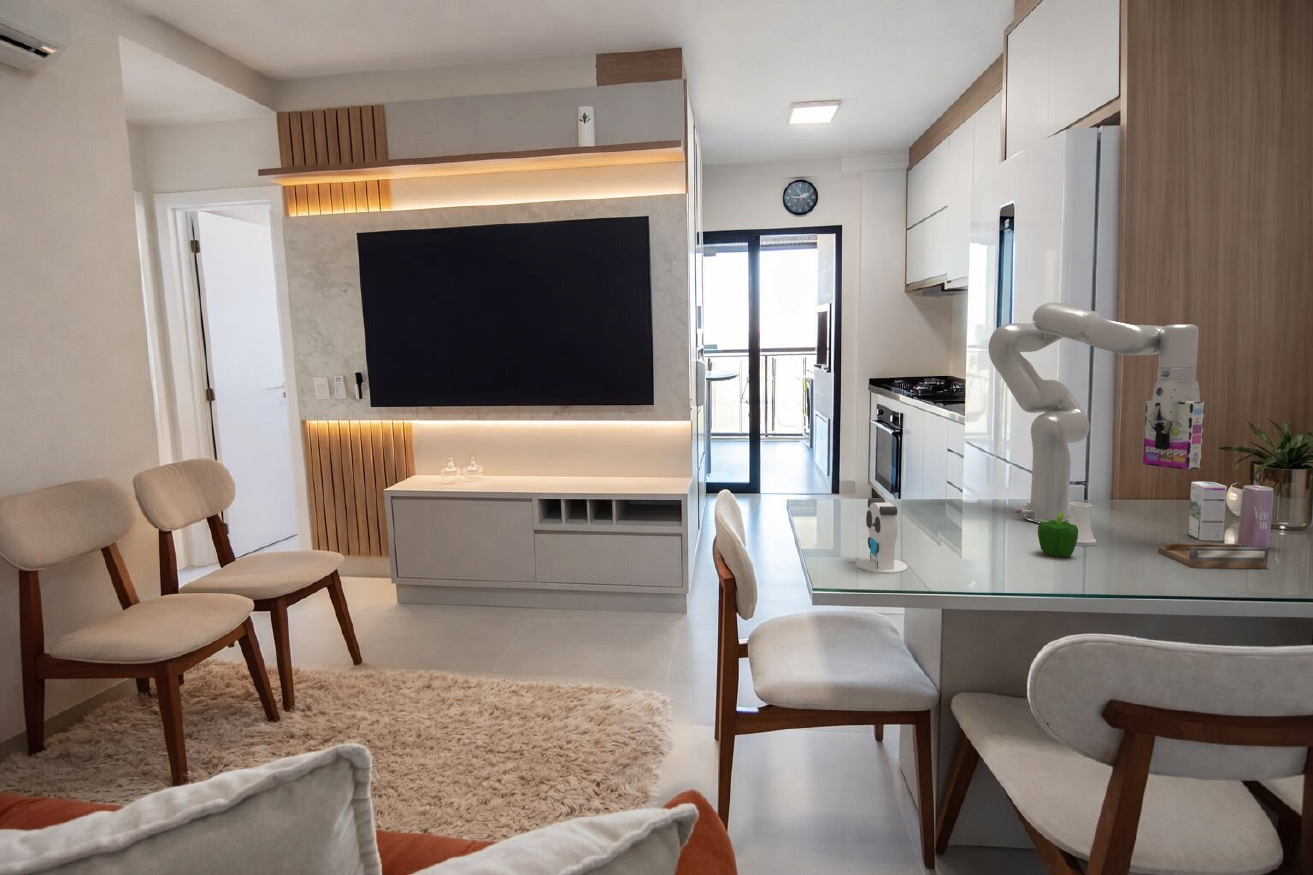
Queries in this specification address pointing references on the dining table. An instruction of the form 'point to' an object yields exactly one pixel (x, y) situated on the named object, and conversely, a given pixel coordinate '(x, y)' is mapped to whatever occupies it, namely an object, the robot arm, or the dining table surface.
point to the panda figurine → (881, 538)
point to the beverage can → (1255, 516)
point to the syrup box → (1207, 511)
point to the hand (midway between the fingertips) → (1172, 447)
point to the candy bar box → (1177, 439)
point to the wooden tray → (1216, 555)
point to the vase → (1082, 523)
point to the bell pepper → (1057, 537)
